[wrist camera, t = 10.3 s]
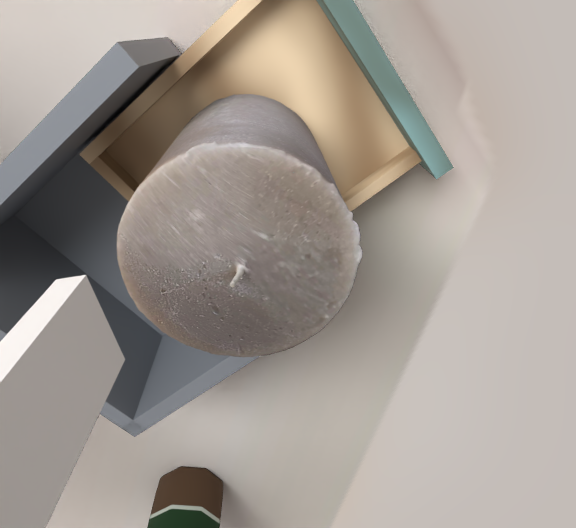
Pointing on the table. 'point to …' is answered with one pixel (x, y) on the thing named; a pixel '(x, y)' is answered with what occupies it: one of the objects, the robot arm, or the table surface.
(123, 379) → the cradle
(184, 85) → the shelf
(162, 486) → the beer bottle
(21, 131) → the table surface
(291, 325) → the pillar candle
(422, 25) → the table surface
